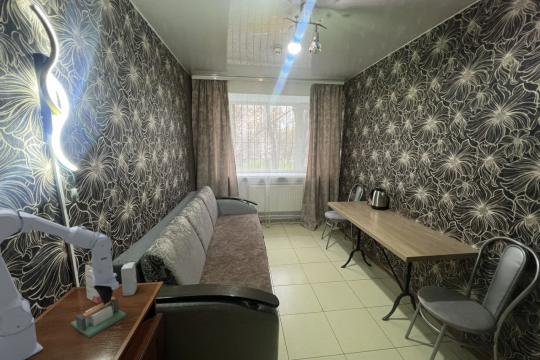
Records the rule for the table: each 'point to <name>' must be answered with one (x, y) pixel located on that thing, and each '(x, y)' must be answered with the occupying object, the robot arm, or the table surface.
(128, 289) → the skincare box
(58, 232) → the robot arm
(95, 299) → the ink cartridge box
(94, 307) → the strap
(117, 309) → the board
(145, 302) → the table surface
